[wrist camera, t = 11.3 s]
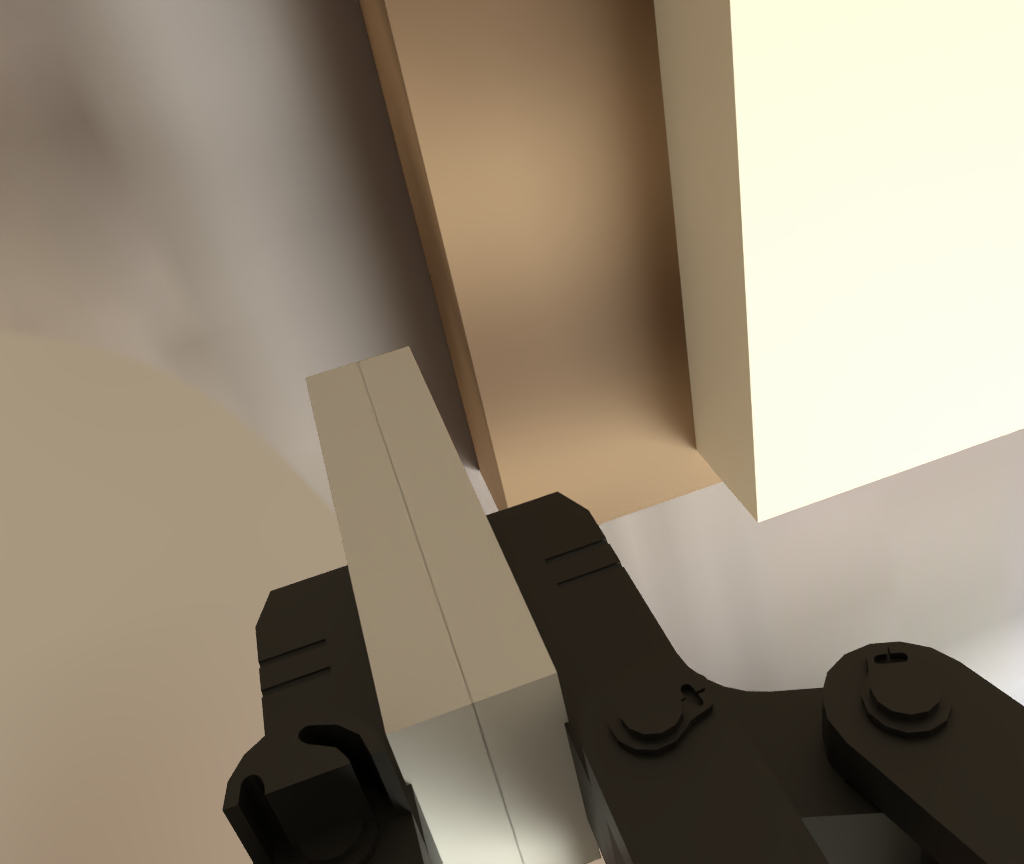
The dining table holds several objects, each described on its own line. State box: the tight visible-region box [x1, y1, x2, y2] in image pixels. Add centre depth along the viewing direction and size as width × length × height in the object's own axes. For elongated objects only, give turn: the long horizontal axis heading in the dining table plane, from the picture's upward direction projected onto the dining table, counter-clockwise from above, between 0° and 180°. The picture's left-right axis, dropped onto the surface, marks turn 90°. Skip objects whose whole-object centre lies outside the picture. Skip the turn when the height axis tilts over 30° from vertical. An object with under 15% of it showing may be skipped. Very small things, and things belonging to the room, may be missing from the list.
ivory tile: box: [654, 0, 1024, 522], centre depth 16 cm, size 9×6×2 cm, turn 11°
